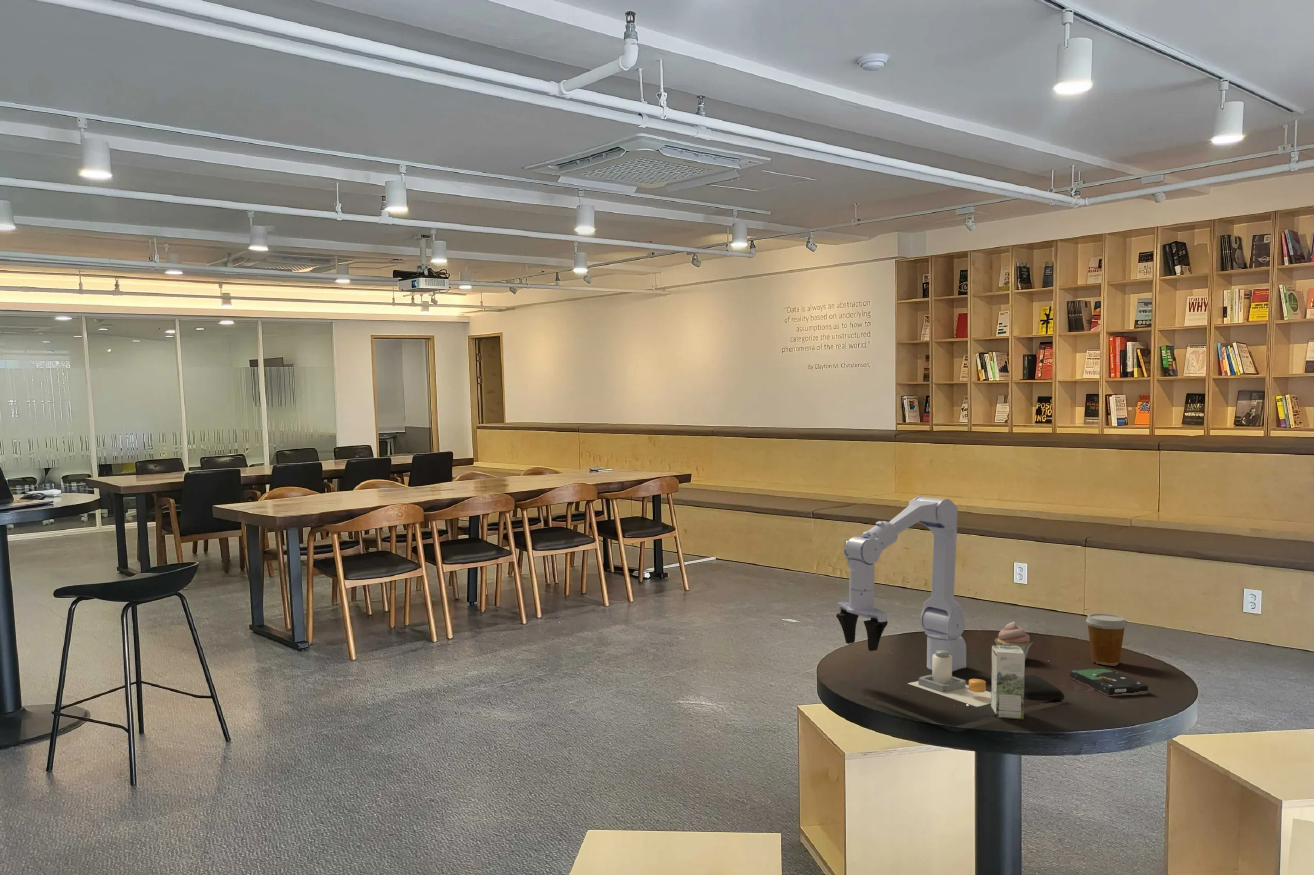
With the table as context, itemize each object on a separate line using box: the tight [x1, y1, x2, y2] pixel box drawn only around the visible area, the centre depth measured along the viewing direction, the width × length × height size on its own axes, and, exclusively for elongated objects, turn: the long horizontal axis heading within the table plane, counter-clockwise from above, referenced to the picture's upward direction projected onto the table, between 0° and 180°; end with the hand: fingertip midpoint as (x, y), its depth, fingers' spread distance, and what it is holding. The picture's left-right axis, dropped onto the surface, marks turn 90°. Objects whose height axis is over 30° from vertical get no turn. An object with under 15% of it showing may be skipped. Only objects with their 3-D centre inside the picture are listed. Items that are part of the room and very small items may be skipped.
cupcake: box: [994, 621, 1034, 661], centre depth 242 cm, size 9×9×10 cm
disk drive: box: [1069, 667, 1149, 695], centre depth 218 cm, size 10×3×15 cm
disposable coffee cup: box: [1085, 613, 1127, 663], centre depth 238 cm, size 10×10×12 cm
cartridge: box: [931, 650, 953, 685], centre depth 215 cm, size 4×4×8 cm
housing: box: [907, 674, 991, 708], centre depth 211 cm, size 11×20×2 cm, turn 32°
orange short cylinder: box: [968, 678, 987, 692], centre depth 206 cm, size 4×4×2 cm
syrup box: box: [990, 644, 1026, 720], centre depth 197 cm, size 6×6×14 cm
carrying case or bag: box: [1024, 674, 1065, 704], centre depth 212 cm, size 11×3×15 cm
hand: (861, 646), depth 215 cm, fingers open, 7 cm apart
